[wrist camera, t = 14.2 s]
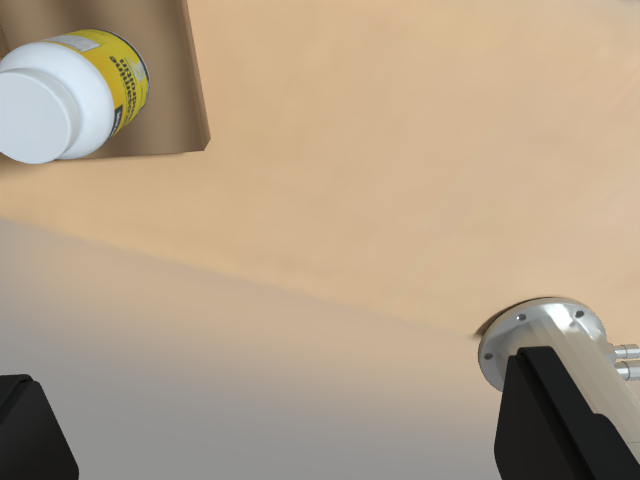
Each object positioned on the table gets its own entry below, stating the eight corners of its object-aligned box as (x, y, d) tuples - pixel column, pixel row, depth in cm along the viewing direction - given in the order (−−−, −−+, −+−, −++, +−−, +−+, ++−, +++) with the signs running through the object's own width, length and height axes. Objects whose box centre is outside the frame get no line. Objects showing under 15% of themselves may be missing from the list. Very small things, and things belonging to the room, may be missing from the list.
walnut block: (181, -29, 35) (170, -29, 32) (210, 138, 40) (203, 150, 38) (11, -17, 35) (-13, -15, 32) (64, 148, 41) (47, 160, 38)
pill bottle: (135, 137, 37) (68, 202, 27) (48, 93, 36) (-58, 146, 26) (166, 57, 35) (105, 96, 24) (74, 6, 33) (-33, 26, 23)
